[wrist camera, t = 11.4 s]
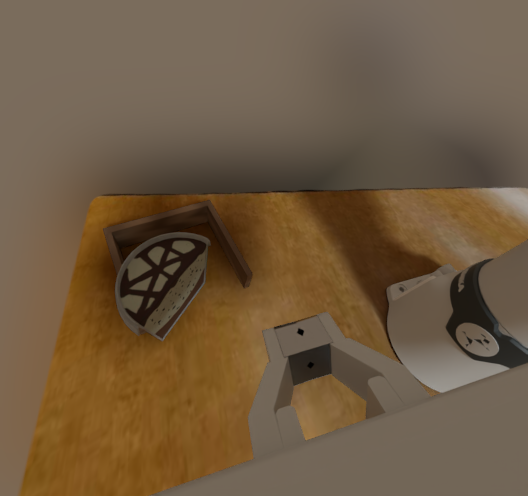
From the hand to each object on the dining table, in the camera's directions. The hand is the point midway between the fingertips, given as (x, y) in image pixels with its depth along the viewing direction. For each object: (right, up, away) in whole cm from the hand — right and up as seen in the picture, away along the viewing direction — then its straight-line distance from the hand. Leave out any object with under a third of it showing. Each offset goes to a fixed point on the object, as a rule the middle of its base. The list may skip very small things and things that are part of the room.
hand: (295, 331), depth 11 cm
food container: (-15, -3, +23) cm, 28 cm away
